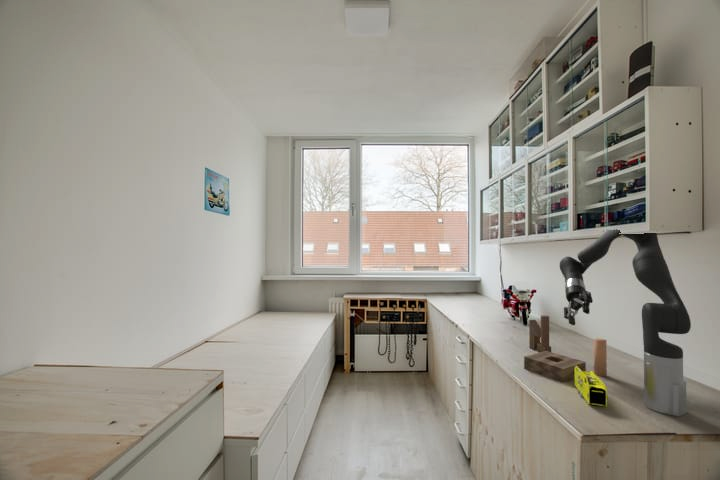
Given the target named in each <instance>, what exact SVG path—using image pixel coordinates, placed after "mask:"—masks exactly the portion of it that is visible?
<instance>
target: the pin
mask: <svg viewBox="0 0 720 480" xmlns="http://www.w3.org/2000/svg"><path fill="white" fill-rule="evenodd" d="M593 344H594V345H593V351H594V352H593V358H594V361H593V362H594V363H593V366H594V369H593V370H594V371H593V373H594V374H595V375H596V376H597V377H601V378H602V377H607V375H608V374H607V373H608V372H607V369H608V368H607V364H608V362H607V352H608V351H607V340H606V339H605V338H594V340H593Z"/></svg>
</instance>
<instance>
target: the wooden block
mask: <svg viewBox="0 0 720 480" xmlns="http://www.w3.org/2000/svg"><path fill="white" fill-rule="evenodd" d="M528 329H529V345H528V347H529V348H530V349H532V350H534V351H537V352H538V353H540V352H544V351H549V352H552V346H550V316H549V315H548V314H547V315H545V314H541V315H540V325H539V323H538V322H537V320H536V319H529V328H528Z"/></svg>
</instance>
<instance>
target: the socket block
mask: <svg viewBox="0 0 720 480" xmlns="http://www.w3.org/2000/svg"><path fill="white" fill-rule="evenodd" d="M523 362H524V363H523V369H524V370H528V371H531V372H534V373H536V374H539V375H541V376H544V377H547V378H549V379H550V378H551V379H553V380H556V381H559V382H561V383H565V382H567V381H571V380H575V379H574V377H575V366H577V367H578V368H580V370H581V371H585V372H587V363H586V361H584V360H580V359H577V358H573V357H569V356H566V355H563V354H559V353H555V352H553V351H551V352H549V351H544V352H537V353H533V354H528V355H525V356H524V357H523Z"/></svg>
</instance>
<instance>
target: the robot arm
mask: <svg viewBox="0 0 720 480" xmlns="http://www.w3.org/2000/svg"><path fill="white" fill-rule="evenodd" d="M607 230H608V229H607ZM607 230H606V231H605V232H603V234H602V235H600V237H598V238H597V239H596V240H595V241H594V242H593V243H592V244H589V246H587V247H585V248H584V249H582V250H581V251H579V252H578V253H577V259H578V260H577V259H576V258H573V257H572V256H564V257H562V258H561V260H560V261H559V269H560V271H561V274H562V277H564V290H565V298H566V301H567V302H568V306H567V307H566V306H564V307H563V318H564V319H566V320H568V324H570V325H571V326H575V325H576V318H575V317H576V315H577V314H578V313H579V310H580V309H581V308H582V312H583V313H584V314H586V315H589V314H590V310H591V309H590V306H591V304H592V303H593V302H594V301H593V297H592V293H591V292H590V291H588V290H586V286H585V282H584V277H583V276H584V275H583V274H584V273H586V271H587V270H588V269H589V268H590V267H591V266H592V265H593V264H595V263H596V262H598V261H600V260H601V259H602V258H604V257H605V256H606V255H607V254H608V252H609V249H610V248H611V245H612V243H613V242H614V240H617V238H619V237H621V236H623V237H625V238H627V239H629V240H632V241H633V242H634V244H635V245H636V247H637V252H636V254H635V255H634V257H633V258H632V261H631V262H632V269H633V272H634V274H635V277H636V279H637V280H638V281H639V282H640V283H641V284H642V285H643V286H644V287H645V288H647V289H648V290H649V291H651V292H652V293H654V294H655V295H656V296H657V297H658V298H660V300H661V301H662V303H661V302H646V303H644V304H643V305H642V307H641V308H642V309H641V323H642V324H641V325H642V340H643V341H642V343H643V391H644V393H643V399H644V401H643V402H644V405H645V406H646V407H647V408H648V409H650V410H652V411H655V412H658V413H661V414H665V415H668V416H673V417H677V418H680V417H681V416H683V415H685V414H686V413H687V382H686V381H685V380H684V350H683V348H682V347H681V346H679V345H676V344H674V343H671V342H669V341H667V340H664V339H662V338H661V337H660V335H659V333H661V334H672V335H686V334H688V333H689V332H690V331H691V328H692V327H691V326H692V323H691V318H690V315H689V311H688V309H687V307H686V306H685V304H684V301H683V300H682V298H681V296H680V294H679V293H678V291H677V289H676V286H675V284H674V281H673V279H672V275H671V272H670V269H669V266H668V264H667V261H666V260H665V259H666V258H665V257H664V255H663V252H662V249H661V246H660V243H659V238H658V234H657V233H658V232H657V233H644V234H619V233H621V232H620V230H617V229H616V230H615V229H614V230H608V231H607Z"/></svg>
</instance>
